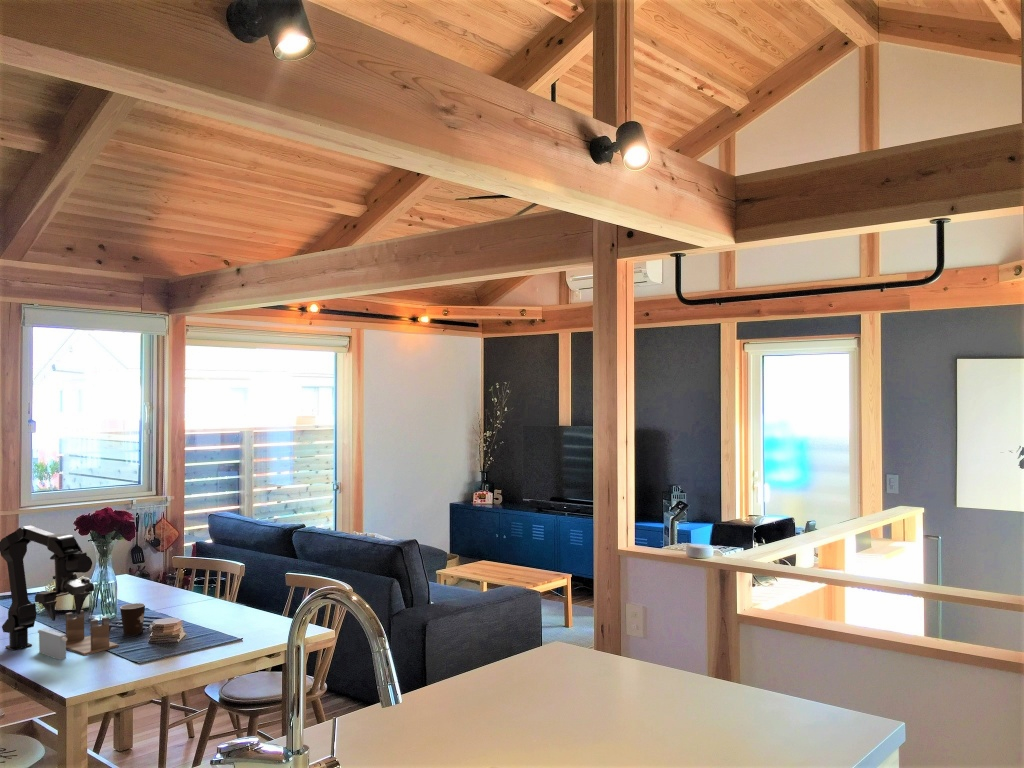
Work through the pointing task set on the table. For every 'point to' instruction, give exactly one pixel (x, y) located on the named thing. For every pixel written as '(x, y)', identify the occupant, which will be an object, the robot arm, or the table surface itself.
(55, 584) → the robot arm
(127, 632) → the coffee mug
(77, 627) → the hinge frame
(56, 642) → the door
